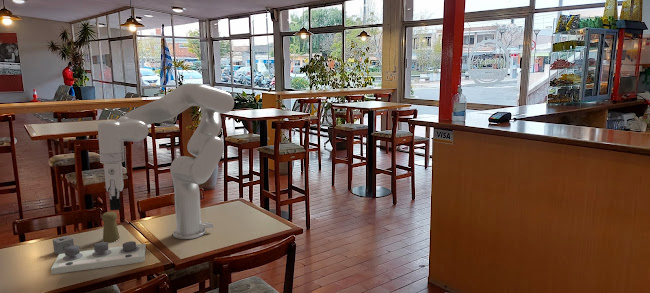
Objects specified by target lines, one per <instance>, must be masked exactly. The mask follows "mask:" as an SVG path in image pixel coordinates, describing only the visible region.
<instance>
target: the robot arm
mask: <svg viewBox="0 0 650 293" xmlns="http://www.w3.org/2000/svg"><path fill="white" fill-rule="evenodd" d="M190 107H199V108H200V112H201V118H200V121H199V124H198V125H197V128H196V129H195V130H194V131H193V132H194V133H192V136H191V137H190V139H189V140H188V142H187V147H186V148H187V152H188V153H189V154H190V155H192V156H194V157H191V156H186V155H182V156H178V157H176V158H175V159H173V160H172V162H171V165H170V171H169V172H170V177H171V180H172V183H173V190H174V210H175V211H174V212H175V224H176V229H174V230H173V232H172V236H173V238H176V239H179V240H191V239H197V238H200V237H202V236H204V235H205V234H206V229H212V228H213V229H214V223H213V222H210V221H206V222H203V220H202V213H201V197H200V194H201V193H200V187H199V186H200V185H202V184H204V183H206V182H207V181H208V180H209V179H210V178H211V176H212V174H213V173H214V171H215V169H216V167H217V165H218V164H219V162H220V160H221V159H222V157H223V155H224V150H225V145H224V142H223V140H222V139H221V138H220V137H219V136H218V135H219V133H220V132H221V128H222V118H221V114H227V113H230V112H231V111H232V110H233V108H234V107H235V100H234V97H233V96H232V94H231V93H229V92H228V91H225V90H222V89H219V88H215V87H213V86H209V85H206V84H202V83H184V84H181V85H180V86H178V87H177V88H175V89H173V90H172V91H171V90H170V92H168V93H167V94H165V95H163V96H161V97H160V98H158V99H156V100H154V101H151V102H149V103H146V104H144V105H141V106H139V107H137V108H134V109H133V110H130V111H129V112H127V113H126V114H125V113H124V115H122V116H120V117H119V118H118V119H116V120H107V121H106V120H105V121H100V122H99V123H98V125H97V134H98V147H99V161H100V162H99V163H101V164H104V165H103V168H104V180H105V182H104V183H105V190H106V192H107V193H109V210H110V211H119V210H121V208H122V207H121V196H120V192H122V191H123V190H124V186H125V185H124V175H123V164H122V163H124V162H125V150H124V149H125V147H124V146H125V145H124V144H125V143H124V142H141V141H143V140H144V139H146V138H147V137H148V134H149V133H150V132H149V131H150V130H149V127H148V125H149V126H150V125H152V124H155V123H162V122H166V121H170V120H173V119H174V118H175V117H177V116H178V115H179V114H181V113H183V112H184V111H186V110H188V109H189V108H190Z"/></svg>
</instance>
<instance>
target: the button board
mask: <svg viewBox="0 0 650 293" xmlns="http://www.w3.org/2000/svg"><path fill="white" fill-rule="evenodd" d="M146 250H147V247H146V243H138V244H137V243H136V249H135V250H133V251H129V252H125V251H123V245H122V246H114V247H108V250H107V251H104V252H95V251H94V249H89V250H83V251H81V250H80V253H79V254H77V255H73V256H66V255H65V253H64V254H59V255H57V257H56V259H55V261H54V263H53V264H52V266H51V268H50V269H51V271H50V272H51V275H55V274H56V275H57V274H65V273H70V272H77V271H85V270H94V269H100V268H108V267H116V266H123V265H124V266H125V265H130V264H138V262H139V263H144V262H145V261H144V260H145V259H146V252H147V251H146ZM143 261H144V262H143Z"/></svg>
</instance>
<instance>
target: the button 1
mask: <svg viewBox="0 0 650 293" xmlns="http://www.w3.org/2000/svg"><path fill="white" fill-rule="evenodd" d="M80 251H81V249H80V246H79V245H78V244H77V245H73V246H68V247H66V248H65V255H66V256H73V255H77V254H79V253H80Z"/></svg>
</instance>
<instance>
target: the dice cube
mask: <svg viewBox="0 0 650 293" xmlns="http://www.w3.org/2000/svg"><path fill="white" fill-rule="evenodd" d="M74 244H75V242H74V238H72V237H71V236H69V235H64V236H61V237H58V238H54V239H52V245H53V253H54V254H56V255H57V256H58V255H59V254H64V253H65V248H66V247H68V246H73V245H74Z"/></svg>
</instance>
